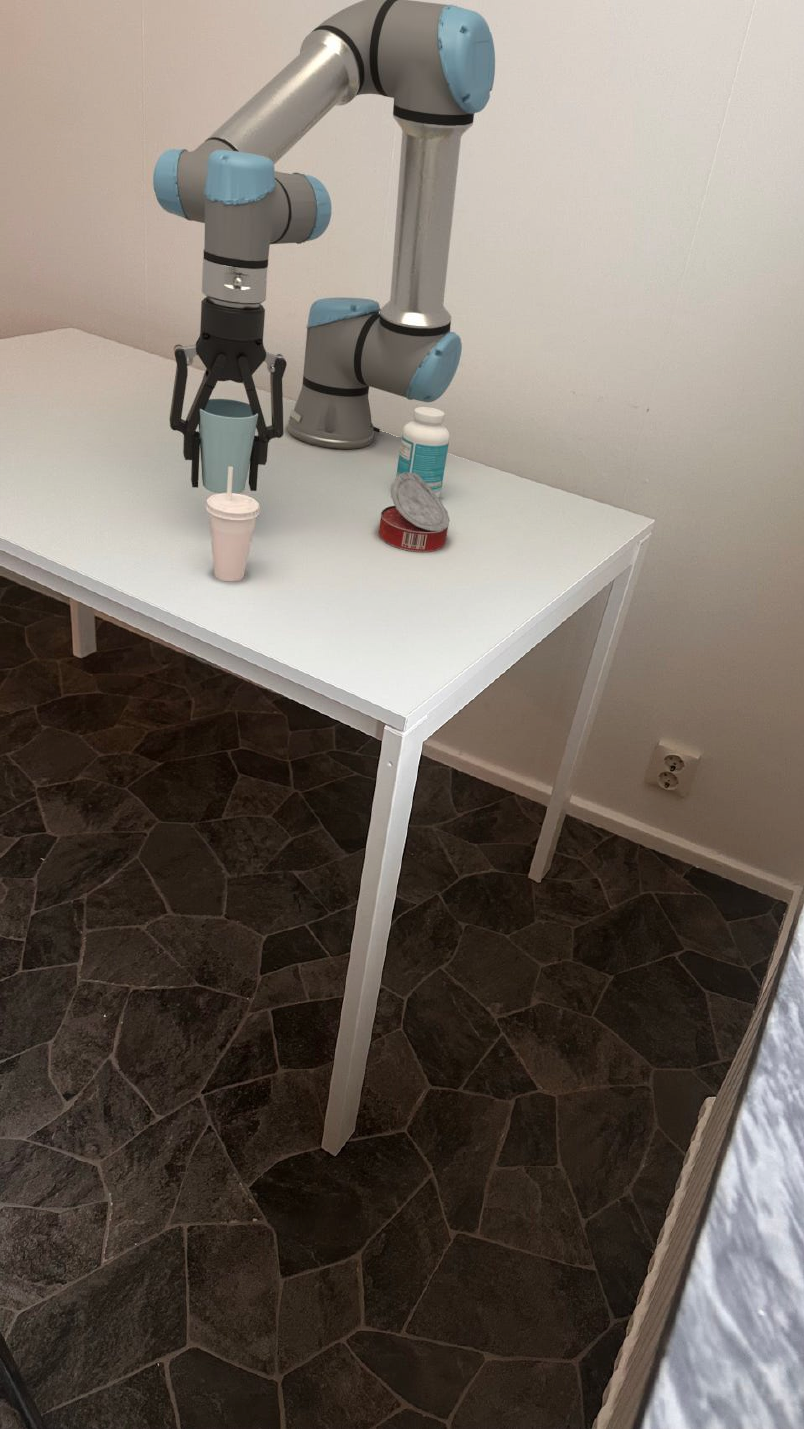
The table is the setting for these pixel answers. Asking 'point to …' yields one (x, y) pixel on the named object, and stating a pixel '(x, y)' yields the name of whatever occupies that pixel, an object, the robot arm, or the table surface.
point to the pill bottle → (425, 447)
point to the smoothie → (231, 531)
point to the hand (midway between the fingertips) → (223, 485)
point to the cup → (226, 443)
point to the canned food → (414, 516)
